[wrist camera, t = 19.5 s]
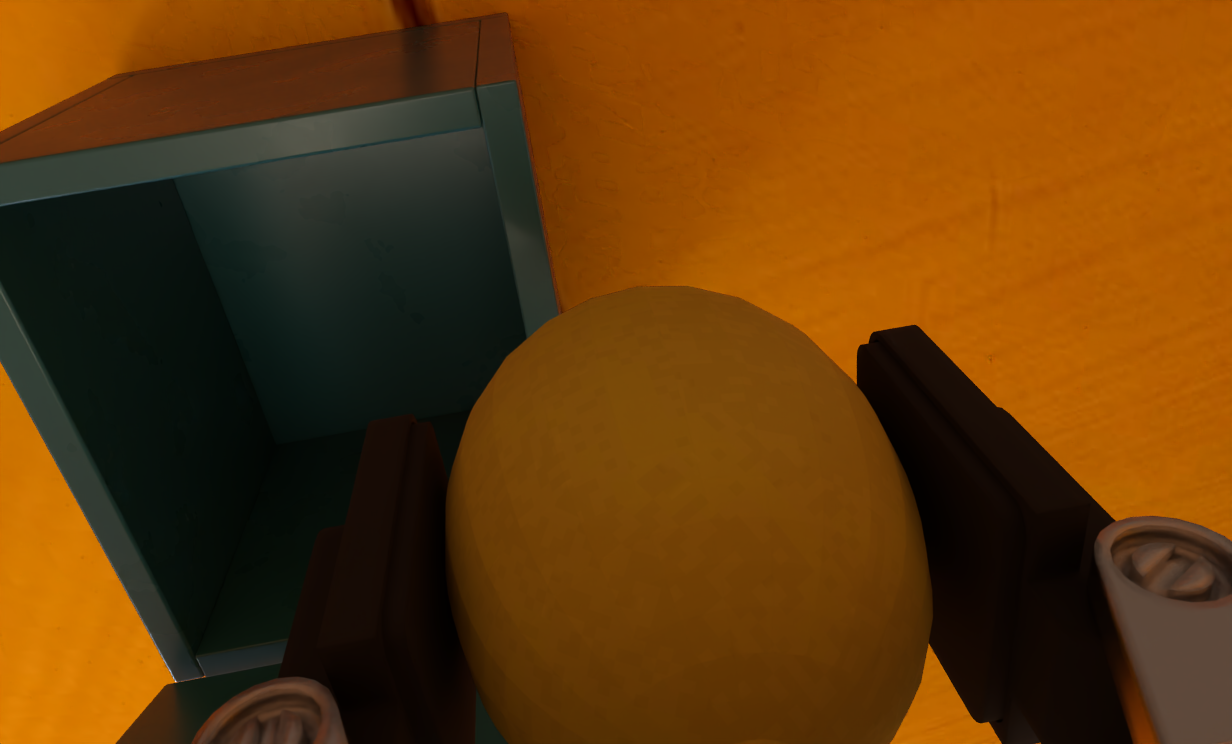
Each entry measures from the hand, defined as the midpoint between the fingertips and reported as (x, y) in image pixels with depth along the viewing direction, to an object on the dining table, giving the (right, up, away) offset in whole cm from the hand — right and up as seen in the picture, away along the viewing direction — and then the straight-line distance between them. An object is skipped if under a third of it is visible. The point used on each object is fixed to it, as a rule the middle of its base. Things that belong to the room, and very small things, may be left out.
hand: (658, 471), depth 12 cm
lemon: (0, +1, +3) cm, 3 cm away
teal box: (-9, +5, +18) cm, 20 cm away
